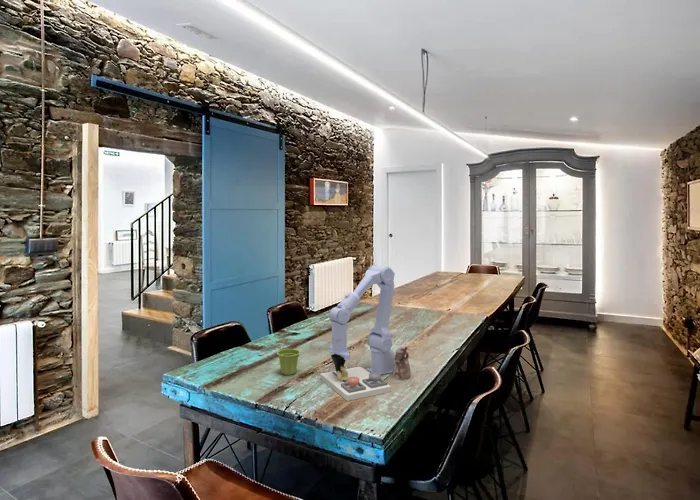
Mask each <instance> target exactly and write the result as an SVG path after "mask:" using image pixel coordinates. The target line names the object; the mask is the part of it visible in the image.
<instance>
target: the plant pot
mask: <svg viewBox="0 0 700 500" xmlns="http://www.w3.org/2000/svg"><path fill="white" fill-rule="evenodd" d="M276 354H277V357H278V359H279V366H280V373H281V374H282V375H285V376H292V375H294V374H296V373H297V368H298V359H299V356H300V354H301V351H300V350H299V349H296V348H284V349H280V350H278V351H277V352H276Z"/></svg>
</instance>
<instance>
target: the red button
mask: <svg viewBox="0 0 700 500" xmlns="http://www.w3.org/2000/svg"><path fill="white" fill-rule="evenodd" d="M347 384H348V385H349V386H357V385H359V378H358V377H349V378H347Z"/></svg>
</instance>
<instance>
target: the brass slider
mask: <svg viewBox="0 0 700 500" xmlns="http://www.w3.org/2000/svg"><path fill="white" fill-rule="evenodd" d="M345 369H346V367H345V365H344V366H343V365H340V370H338V371H337V378H338V379H339V380H340V381H343V380H347V378H348V372H347V371H346V370H345Z"/></svg>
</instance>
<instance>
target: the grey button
mask: <svg viewBox="0 0 700 500" xmlns="http://www.w3.org/2000/svg"><path fill="white" fill-rule="evenodd" d="M369 373H370V374H369V380H370V381H373V382H377V381H380V380H381V379H382V378H381V374H379V373H371V372H369Z"/></svg>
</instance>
